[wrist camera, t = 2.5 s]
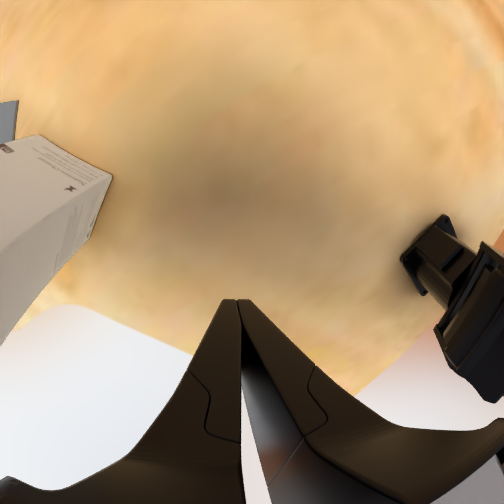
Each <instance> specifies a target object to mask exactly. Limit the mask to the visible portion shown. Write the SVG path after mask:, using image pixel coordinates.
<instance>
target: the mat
mask: <svg viewBox="0 0 504 504" xmlns="http://www.w3.org/2000/svg"><path fill="white" fill-rule="evenodd" d="M18 102H19V101H11V102H4V103H0V144H3V143H7V142H10V141H14V138H15V126H16V117H17V109H18Z"/></svg>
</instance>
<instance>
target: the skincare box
mask: <svg viewBox="0 0 504 504" xmlns="http://www.w3.org/2000/svg"><path fill="white" fill-rule="evenodd" d="M111 180H112V175H111V174H109V173H107V172H104V171H102V170H100V169H97V168H95V167H93V166H91V165H89V164H88V163H86V162H84V161H82V160H80V159H78V158H76V157H75V156H73V155H71V154H69V153H68V152H66V151H64V150H62V149H61V148H59V147H57V146H56V145H54V144H53V143H51V142H50V141H48V140H47V139H46V138H44V137H42V136H40V135H34V136H30V137H26V138H21V139H18V140H14V141H10V142H7V143H3V144H0V346H1V345H2V343H3V342H4V340H5V339H6V337H7V336H8V335H9V333H10V332H11V330H12V329H13V328H14V326H15V325H16V323H17V322H18V321H19V319H20V318H21V317H22V315H23V314H24V313H25V312H26V310H27V309H28V307H29V306H30V305H31V304H32V302H33V301H34V300H35V298H36V297H37V296H38V295H39V294H40V292H41V291H42V290H43V289H44V287H45V286H46V285H47V284H48V283H49V282H50V280H51V279H52V278H53V277H54V276H55V275H56V274H57V272H58V271H59V270H60V269H61V268H62V267H63V266H64V265H65V264H66V262H67V261H68V260H69V259H70V258H71V257H72V256H73V255H74V254H75V253H76V252H77V251H78V250H79V249H80V248H81V247H82V246H83V245H84V244H85V243H86V242H87V241H88V240H89V238H90V235H91V232H92V229H93V226H94V223H95V220H96V218H97V215H98V212H99V209H100V207H101V204H102V202H103V199H104V197H105V194H106V191H107V189H108V187H109V184H110V182H111Z"/></svg>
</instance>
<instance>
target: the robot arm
mask: <svg viewBox="0 0 504 504" xmlns="http://www.w3.org/2000/svg"><path fill="white" fill-rule="evenodd" d="M406 258H407V259H406ZM405 259H406V260H405ZM400 261H401V263H402V265H403V266H404V268H405V270H406V271H407V273H408V275H409V276H410V278H411V280H412V281H413V283H414V285H415V287H416V288H417V290H418V292H419V293H420V295H421V296H425V295H426V294H427V293H428V292H429V293H430V294H431V295H432V296H433V297H434V298H435V300H436V301H437V302H438V303H439V304H440V305H441V306H442V307H443V308H444V309H445V311H446V312H445V314H444V315H443V317H442V318H441V320H440V321H439V323H438V324H436V326H435V327H434V329H433V330H434V333H435V335H436V337H437V339H438V342H439V344H440V346H441V349H442V351H443V353H444V356H445V359H446V361H447V363H448V366H449V367H450V368H451V369H452V370H453V371H454V372H455V373H457V374H458V375H459V376H461V377H463V378H465V379H466V380H467V381H468V382H469V383H470V384H471V385H472V386H473V387H474V388H475V389H476V391H477V392H478V393H479V394H480V396H481V397H482V398H483V400H485V401H487V402H490V403H496V402H497V401H498V400H499V399H500V398H501V397H502V396H504V253H503V252H501V251H499V250H497V249H496V248H494V247H492V246H490V245H488V244H487V243H485V242H483V241H482V242H481V244H480V249H479V251H478V253H476V252H475V251H473V250H472V249H471V248H469V247H468V246H467V245H465V244H464V243H462V242H461V241H460V240H458V239H457V237H456V234H455V231H454V228H453V226H452V223H451V221H450V218H449V217H448V216H447V215H445V214H444V215H442V216H441V217H440V218H439V219H438V220H437V221H436V223H435V224H434V225H433V226H432V227H431V228H430V229H429V230H428V231H427V232H426V233H425V234H424V235H423V236H422V237H421V238H420V239H419V240H418V241H417V242H416V243H415V244H414V245H413V246H412V247H411V248H409V249H408V250H407V251H406V252H405V253H404V254H403V255H402V256H401V258H400ZM241 386H242V390H243V394H244V399H245V403H246V407H247V411H248V415H249V419H250V424H251V427H252V432H253V436H254V439H255V443H256V447H257V451H258V455H259V458H260V462H261V466H262V470H263V473H264V477H265V481H266V484H267V487H268V491H269V495H270V498H271V502H272V504H504V418H497V419H495V420H494V421H493V422H492V423H490V424H489V425H488V426H486V427H484V428H481V429H477V430H470V431H450V430H449V431H448V430H430V429H419V428H408V427H403V426H399V425H396V424H393V423H391V422H389V421H387V420H386V419H384V418H383V417H381V416H380V415H378V414H377V413H375V412H374V411H373V410H371V409H370V408H368V407H367V406H365V405H364V404H363V403H361V402H360V401H359V400H357V399H356V398H354V397H353V396H352V395H350V394H349V393H348V392H347V391H345V390H344V389H343V388H341V387H340V386H339V385H338V384H336V383H335V382H334V381H333V380H332V379H331V378H330V377H329V376H327V375H326V374H325V373H324V372H323V371H322V370H321V369H320V368H319V367H318V366H315V363H313V362H312V361H311V360H310V359H309V358H308V357H307V356H306V355H305V354H304V353H303V352H302V351H301V350H300V349H299V348H298V347H297V346H296V345H295V344H294V343H293V342H292V341H291V340H290V339H289V338H288V337H287V336H286V335H285V334H284V333H283V332H282V331H281V330H280V329H279V328H278V327H277V326H276V325H275V324H274V323H273V322H272V321H271V320H270V319H269V318H268V317H267V316H266V315H265V314H264V313H263V312H262V311H261V310H260V309H259V308H258V307H257V306H256V305H255V304H254V303H253V302H252V301H251V300H249V299H238V300H237V301H236V300H235V299H223V300H222V301H221V303H220V305H219V307H218V309H217V311H216V313H215V315H214V317H213V319H212V321H211V323H210V325H209V327H208V329H207V331H206V333H205V335H204V337H203V338H202V340H201V342H200V344H199V346H198V348H197V350H196V352H195V354H194V356H193V358H192V360H191V362H190V364H189V366H188V368H187V371H186V372H185V373H184V375H183V378H182V379H181V381H180V383H179V385H178V386H177V388H176V390H175V392H174V394H173V395H172V397H171V398H170V400H169V401H168V403H167V404H166V405H165V407H164V408H163V410H162V411H161V413H160V414H159V415H158V417H157V418H156V419H155V421H154V422H153V423H152V425H151V426H150V427H149V429H148V430H147V431H146V433H145V434H144V435H143V437H142V438H141V439H140V441H139V442H138V443H137V444H136V446H135V447H134V448H133V449H132V450H131V451H130V452H129V453H128V454H127V455H126V456H124V457H123V458H121V459H120V460H118V461H117V462H115V463H113V464H111V465H110V466H108V467H106V468H104V469H102V470H101V471H99V472H97V473H95V474H93V475H91V476H89V477H87V478H85V479H83V480H82V481H79V482H77V483H75V484H73V485H71V486H69V487H66V488H63V489H60V490H42V489H38V488H35V487H33V486H31V485H29V484H26V483H24V482H22V481H20V480H18V479H16V478H13V477H10V476H6V477H5V478H3V479H1V480H0V504H246V498H245V491H244V484H243V475H242V464H241Z"/></svg>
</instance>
